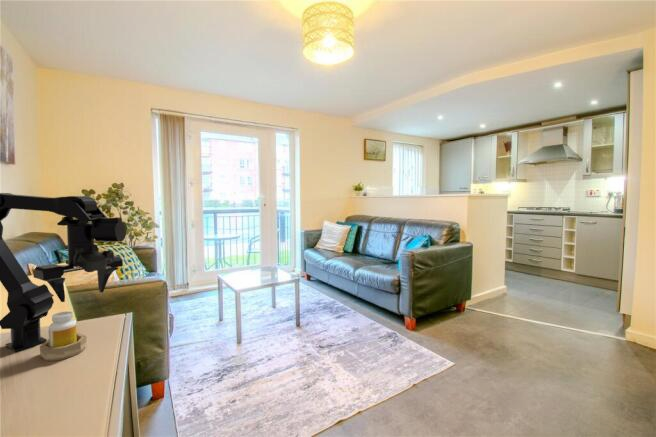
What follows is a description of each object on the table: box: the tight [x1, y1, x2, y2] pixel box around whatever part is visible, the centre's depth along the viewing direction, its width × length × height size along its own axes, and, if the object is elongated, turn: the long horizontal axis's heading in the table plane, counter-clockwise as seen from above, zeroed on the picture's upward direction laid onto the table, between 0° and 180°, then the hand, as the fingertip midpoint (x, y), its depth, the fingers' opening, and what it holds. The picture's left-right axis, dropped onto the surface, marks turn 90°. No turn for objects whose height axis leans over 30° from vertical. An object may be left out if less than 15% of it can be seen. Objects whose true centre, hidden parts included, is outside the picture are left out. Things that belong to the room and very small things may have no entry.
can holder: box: [39, 332, 87, 362], centre depth 78 cm, size 8×8×3 cm
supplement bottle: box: [48, 311, 77, 348], centre depth 78 cm, size 5×5×10 cm
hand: (83, 296), depth 83 cm, fingers open, 9 cm apart
